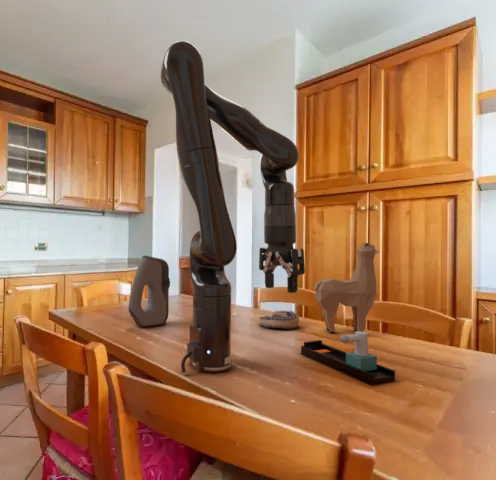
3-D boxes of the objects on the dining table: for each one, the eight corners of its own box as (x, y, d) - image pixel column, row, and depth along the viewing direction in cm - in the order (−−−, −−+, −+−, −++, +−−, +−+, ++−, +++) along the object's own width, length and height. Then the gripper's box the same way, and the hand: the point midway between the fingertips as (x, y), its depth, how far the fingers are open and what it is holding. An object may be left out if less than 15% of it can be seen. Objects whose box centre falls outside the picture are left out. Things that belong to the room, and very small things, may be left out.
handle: (349, 374, 72) (349, 337, 72) (334, 367, 76) (334, 332, 76) (377, 369, 75) (377, 333, 75) (361, 363, 79) (361, 329, 79)
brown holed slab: (170, 324, 121) (170, 255, 121) (132, 330, 112) (133, 256, 112) (161, 321, 126) (161, 254, 126) (124, 326, 117) (125, 255, 117)
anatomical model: (252, 325, 120) (252, 312, 120) (279, 319, 130) (279, 307, 130) (281, 332, 110) (281, 318, 110) (308, 325, 120) (308, 312, 120)
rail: (371, 385, 70) (371, 370, 70) (301, 353, 89) (301, 342, 89) (395, 380, 72) (395, 366, 72) (321, 351, 92) (321, 339, 92)
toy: (384, 337, 105) (384, 242, 105) (316, 334, 109) (316, 242, 109) (373, 330, 114) (373, 242, 114) (310, 327, 118) (310, 242, 118)
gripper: (250, 225, 88) (251, 287, 88) (286, 222, 74) (287, 295, 74) (273, 226, 90) (274, 285, 90) (313, 223, 77) (313, 293, 77)
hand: (280, 290), depth 82 cm, fingers open, 8 cm apart
